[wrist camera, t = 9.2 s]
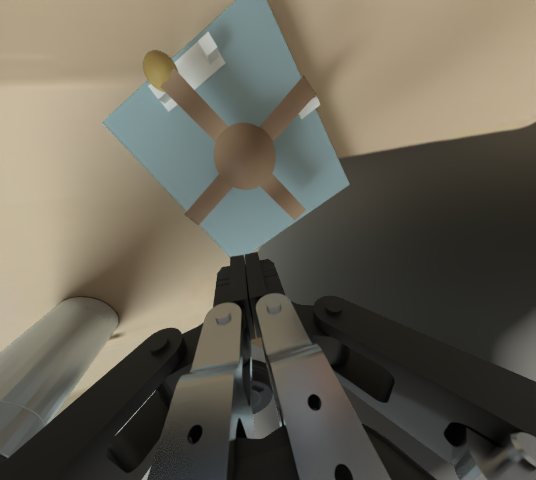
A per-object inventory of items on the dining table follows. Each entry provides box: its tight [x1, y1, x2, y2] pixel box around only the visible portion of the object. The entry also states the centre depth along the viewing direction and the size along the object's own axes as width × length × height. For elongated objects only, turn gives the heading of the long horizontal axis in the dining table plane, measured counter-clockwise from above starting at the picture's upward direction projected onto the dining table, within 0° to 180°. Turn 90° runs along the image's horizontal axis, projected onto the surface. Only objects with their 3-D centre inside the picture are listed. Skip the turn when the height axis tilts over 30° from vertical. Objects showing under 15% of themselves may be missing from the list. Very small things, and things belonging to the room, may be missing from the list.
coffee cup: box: [251, 319, 273, 414], centre depth 30 cm, size 9×9×15 cm
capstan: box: [143, 50, 316, 225], centre depth 20 cm, size 19×17×5 cm
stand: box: [102, 0, 349, 257], centre depth 23 cm, size 21×22×5 cm
